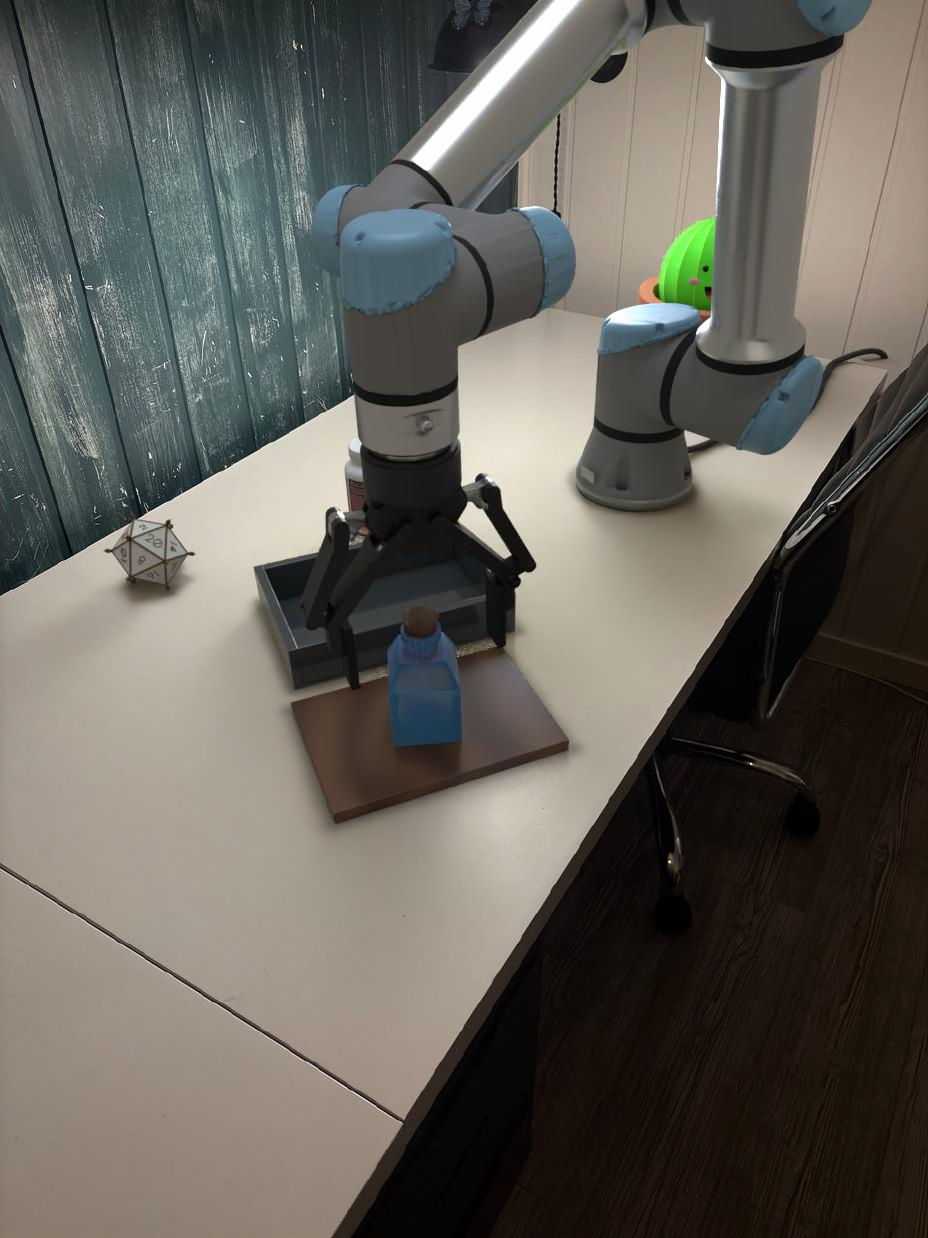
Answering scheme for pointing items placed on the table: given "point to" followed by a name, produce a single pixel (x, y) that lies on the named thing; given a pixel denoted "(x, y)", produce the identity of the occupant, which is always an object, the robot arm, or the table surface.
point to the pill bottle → (355, 480)
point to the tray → (375, 607)
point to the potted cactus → (685, 271)
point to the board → (385, 775)
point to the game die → (149, 552)
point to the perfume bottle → (423, 682)
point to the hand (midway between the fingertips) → (425, 659)
